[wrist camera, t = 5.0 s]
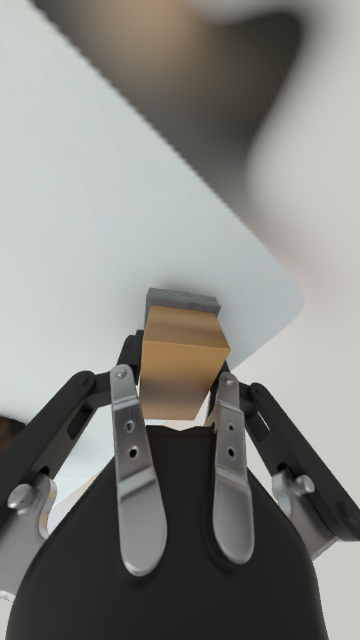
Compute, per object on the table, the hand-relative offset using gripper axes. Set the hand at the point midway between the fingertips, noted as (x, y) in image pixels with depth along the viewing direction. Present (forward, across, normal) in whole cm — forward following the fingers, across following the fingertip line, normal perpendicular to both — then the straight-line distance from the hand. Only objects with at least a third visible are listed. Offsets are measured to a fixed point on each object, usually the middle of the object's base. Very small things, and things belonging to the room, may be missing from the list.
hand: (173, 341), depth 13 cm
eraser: (0, 0, 0) cm, 0 cm away
